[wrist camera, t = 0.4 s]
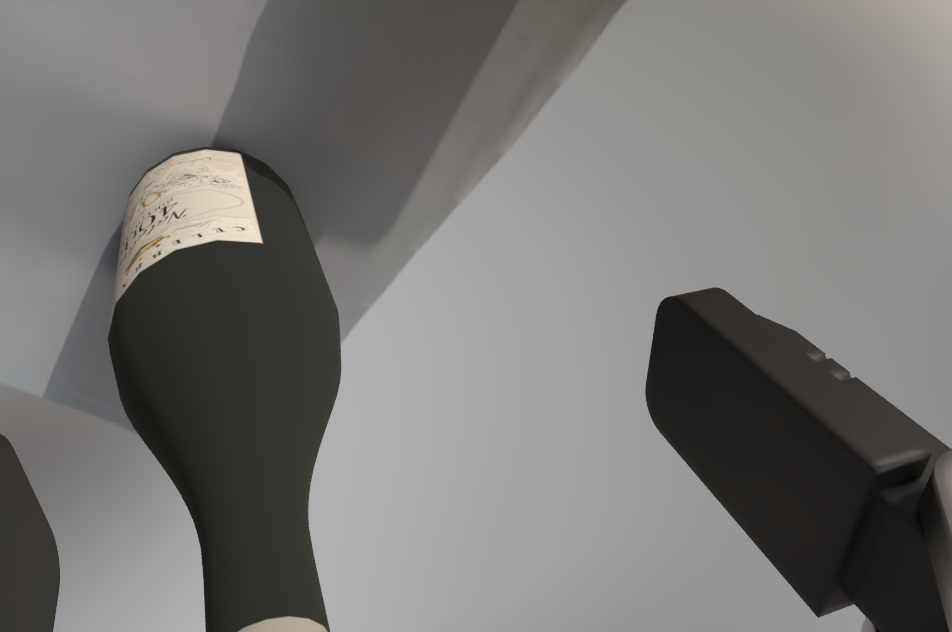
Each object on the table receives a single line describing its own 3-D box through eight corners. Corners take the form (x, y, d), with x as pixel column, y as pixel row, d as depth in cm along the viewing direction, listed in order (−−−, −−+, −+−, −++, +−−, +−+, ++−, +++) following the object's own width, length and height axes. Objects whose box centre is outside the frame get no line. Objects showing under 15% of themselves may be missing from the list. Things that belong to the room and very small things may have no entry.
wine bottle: (85, 218, 34) (-122, 1089, 10) (210, 104, 33) (319, 730, 9) (218, 319, 39) (301, 1070, 14) (330, 220, 38) (609, 834, 14)
